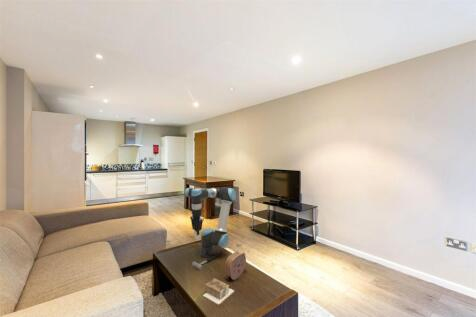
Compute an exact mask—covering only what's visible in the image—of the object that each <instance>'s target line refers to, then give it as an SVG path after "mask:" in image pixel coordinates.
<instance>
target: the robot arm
mask: <svg viewBox="0 0 476 317" xmlns="http://www.w3.org/2000/svg"><path fill="white" fill-rule="evenodd" d="M184 195H185V197H188V198H191V215H192V216H190V217H189V218H190V221H191V227H192V230H193V231H194V240H199V239H200V241H201V242H200V243H201V246H200V249H199V254H198V255H199V256H200V257H201V258H205V259H206V258H207V259H209V258H210V257H212V256H214V255H216V249H215V246H217V247H218V248H220V247H221V248H224V247H226V245H228V242H229V239H230V238H229V236H230V235H229V234H228V231H227V227H228V222H229V215H230V211H231V210H230V209H231V205H232V203H233V202H234V201H235V200H236V198H237V194H236V190H235V189H234V188H232V187H211V188H199V187H198V188H195V187H194V188H193V187H187V188H186V189H185V190H184ZM208 198H211V199H212V198H213V199H218V200H220V202H221V205H220V212H219V216H218V222H217V225H216V226H217V227H216V229H213V228H205V229H203V223H204V219H205V218H202V213H203V212H202V200H205V199H208ZM202 229H203V230H202ZM200 231H201V232H200ZM200 233H201V234H200Z"/></svg>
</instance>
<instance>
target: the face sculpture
mask: <svg viewBox="0 0 476 317" xmlns="http://www.w3.org/2000/svg"><path fill="white" fill-rule="evenodd" d="M246 267H247V258H246V253H245V252H242V253H240V252H239V251H235V252H233V253H231V254H230V255H228V257H227V258H226V261H225V265H224V270H225V276H226V277H227V278H229V279H231V280H233V281H234V280H237V279H238V278H239V277H240V276H241V275H243V273H244V271H245V268H246Z"/></svg>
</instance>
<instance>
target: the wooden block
mask: <svg viewBox="0 0 476 317" xmlns="http://www.w3.org/2000/svg"><path fill="white" fill-rule="evenodd" d="M229 286H230V285H229V284H228V283H225V282H224V281H221V280H219V279H217V278H215V277H214V278H213V279H211V280H210V281H208V282H207V283H205V293H209V294H211V295H212V296H214V297H216V298H218V299H221V298H222V297H224V296H225V295H226V294H227V293H228V292H229Z"/></svg>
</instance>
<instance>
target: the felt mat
mask: <svg viewBox="0 0 476 317" xmlns="http://www.w3.org/2000/svg"><path fill="white" fill-rule="evenodd" d="M234 292H235V290H234V289H232V288H229V292H228V293H227V294H226V295H225V296H224V297H222V298H221V299H218V298H216V297H214V296H212V295H211V294H209V293H207V292H205V293H204V294H203V295H202V296H203V298H205V299H207V300H209V301H211V302H213V303H214V304H216V305H217V306H220V305H221V304H222V303H223V302H224V301H226V300H227V298H228V297H229V296H231V295H232V294H233V293H234Z"/></svg>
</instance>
